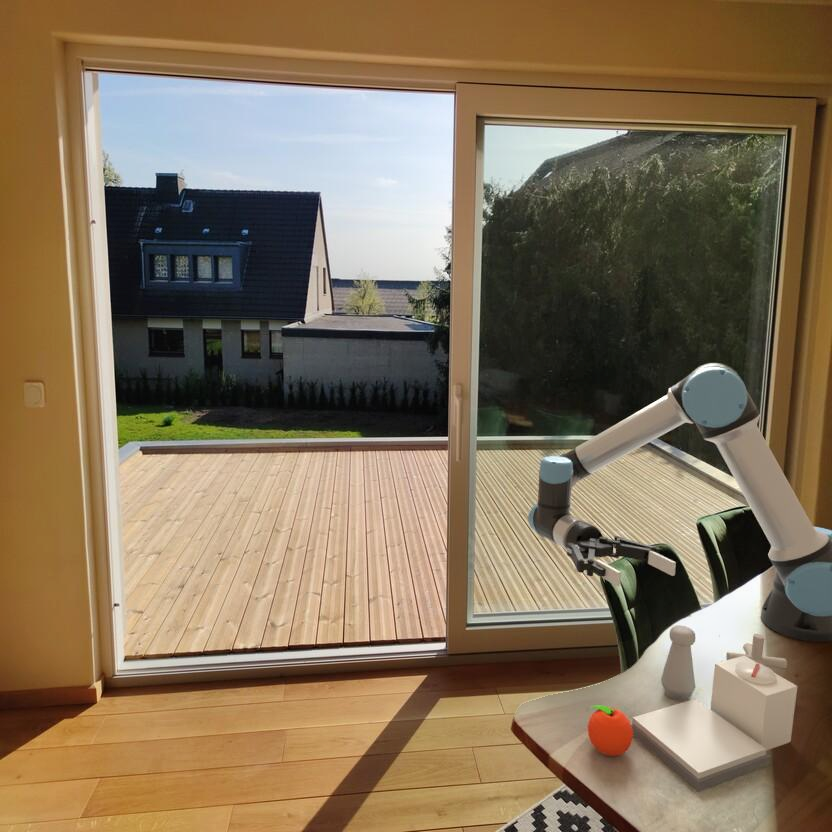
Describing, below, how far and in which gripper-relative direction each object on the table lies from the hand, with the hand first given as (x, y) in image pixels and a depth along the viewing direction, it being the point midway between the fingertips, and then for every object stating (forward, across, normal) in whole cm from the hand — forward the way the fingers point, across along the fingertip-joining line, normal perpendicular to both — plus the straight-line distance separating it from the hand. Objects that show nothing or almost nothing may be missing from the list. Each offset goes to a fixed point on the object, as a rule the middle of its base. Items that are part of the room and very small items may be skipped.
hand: (647, 574), depth 123 cm
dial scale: (+22, +4, -19) cm, 29 cm away
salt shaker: (+10, 0, -20) cm, 22 cm away
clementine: (+17, +22, -20) cm, 34 cm away
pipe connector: (+13, -16, -20) cm, 28 cm away
